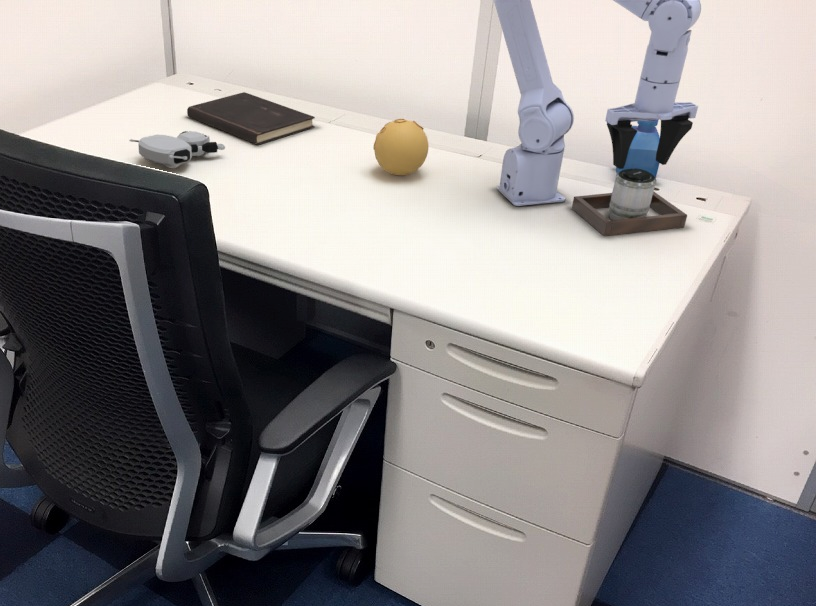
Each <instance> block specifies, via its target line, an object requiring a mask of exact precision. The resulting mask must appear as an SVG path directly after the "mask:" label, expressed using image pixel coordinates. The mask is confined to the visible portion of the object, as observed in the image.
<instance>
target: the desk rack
mask: <svg viewBox="0 0 816 606" xmlns="http://www.w3.org/2000/svg"><path fill="white" fill-rule="evenodd" d="M611 196H612V192H605V193H597V194H587V195H586V194H585V195H575V196H573V199H572V205H571V209H572V210H573V211H574V212H575V213H576V214H577V215H579V216H580V217H581V218H582V219H583V220H585V222H587V223H588V224H589V225H590V226H591V227H593V228H594V229H595V230H596V231H598V232H599V233H600V234H601V235H602V236H603V237H605V236H606V237H607V236H617V235H625V234H634V233H643V232H653V231H662V230H671V229H681V228H685V225H686V222H687V219H688V214H687V213H685V212H684V211H683V210H682V209H680V208H678V207H677V206H675V205H674V204H672V203H671V202H669V201H668V200H667V199H665V198H664V197H662V196H661V195H660V194H658V193H657V192H656V191H654V192H653V195H652V199H651V203H650V207H649V208H651V209H652V210H654V211H655V212H656V213H658V215H649V216H648V215H647V216H646V217H638V218H628V219H619V220H612V219H610V220H609V218H607V217H606V216H605V215H603V214H602V213H601V212H600V211H598V210H597V209H602V208H603V209H604V208H609V205H610V201H611Z"/></svg>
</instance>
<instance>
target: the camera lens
mask: <svg viewBox="0 0 816 606" xmlns="http://www.w3.org/2000/svg"><path fill="white" fill-rule="evenodd" d="M656 184H657V177H656V178H655V177H654V175H653V174H651V173H650V172H648V171H646V170H643V169H637V168H634V169H633V168H631V169H625V170H622V171H620V172H619V173H618V174H617V173H616V175H615V178H614V183H613V188H612V192H611V193H612V196H611V201H610V205H609V207H608V212H609V214H608V216H609V218H610V220H619V219H628V218H638V217H647V216H648V214H649V210H650V208H651V207H650V203H651V199H652V195H653V192H655V187H656Z"/></svg>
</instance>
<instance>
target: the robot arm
mask: <svg viewBox="0 0 816 606" xmlns="http://www.w3.org/2000/svg"><path fill="white" fill-rule="evenodd" d="M612 1H614V2H615V3H617V4H618V5H619V6H621V7H622V8H623V9H625V10H627V11H628V12H630V13H631V14H632V15H635V16H636V17H637V18H639V19H641V20H642V21H643V22H647V23H648V27H649V30H650V35H649V41H648V43H647V46H646V50H645V55H644V59H643V63H642V67H641V74H640V77H639V81H638V85H637V91H636V94H635V99H634V102H633V103H629V104H626V105H622V106H618V107H617V106H616V107H613V108H607V111H606V115H605V121H604V122H606V126H607V129H608V132H609V136H610V141H611V147H612V157H613V159H612V165H613V166H614V167H615V168H616V167H617V168H619V169H623V168H624V166H625V163H626V159H627V155H628V151H629V148H630V145H631V143H632V141H633V139H634V137H635V135H636V133H637V130H635V129H634V128H632V126H633V124H631V123H634V122H637V121H647V120H658V121H660V131H659V137H660V139H659V144H658V148H657V153H656V161H657V162H659V163H660V164H659V165H662V166H665V165H667V164H668V162H669V160H670V158H671V156H672V154H673V153H674V151H675V149H676V148H677V146H678V145H679V143H680V142H681V141H682V140H683V138H684V137H685V136H686V134H688V133H689V132H690V131H691V130H692V128H693V124H694V122H693V121H691V120H690V119H696V116H697V113H698V109H699V105H697V104H696V103H693V102H691V101H689V102H676V99H677V94H678V90H679V87H680V83H681V79H682V76H683V75H682V74H683V70H684V67H685V63H686V59H687V55H688V51H689V43H690V41H691V36H692V31H693V30H692V29H691V28H692V27H693V26H694V25H695V24H696V23H697V21H698V20H699V18H700V16H701V12H702V4H701V0H612ZM493 2H494V6H495V9H496V13H497V16H498V19H499V20H498V21H499V23H500V28H501V30H502V31H501V32H502V33H503V37H504V41H505V45H506V48H507V51H508V56H509V59H510V62H511V65H512V68H513V69H512V70H513V72H514V76H515V79H516V83H517V86H518V90H519V93H520V99H519V103H518V106H517V115H518V120H519V125H518V132H517V133H518V138H519V141H520V144H519V145H517V146H514V147H511V148H508V149H507V150H506V151H505V153H504V155H503V159H502V166H501V173H500V179H499V186H497V187H496V189H497V191H498V192H500V194H502V195H503V196H504V197H505V198H506V199H507V200H508V201H509V202H510V203H511V204H512V205H513V206H514V207H522V206H531V205H532V206H533V205H543V204H552V203H563V202H565V201H566V198H565V196H563V195H562V194H560V192H559V191H557V190H558V187H559V180H560V175H561V169H562V164H563V158H564V152H565V147H566V142H565V135H566V134H568V133H569V132H570V130H572V127H573V125H574V121H575V116H574V112H573V109H572V107H571V106H570V105H569V104H568V102H566V100H565V98H564V95H563V92H562V90H561V89H560V88H559V87H558V86H557V85H556V84H555V83H554V82H553V78H552V75H551V71H550V68H549V64H548V59H547V56H546V51H545V48H544V45H543V41H542V38H541V34H540V30H539V27H538V22H537V19H536V15H535V12H534V9H533V5H532V2H531V0H493Z"/></svg>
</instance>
